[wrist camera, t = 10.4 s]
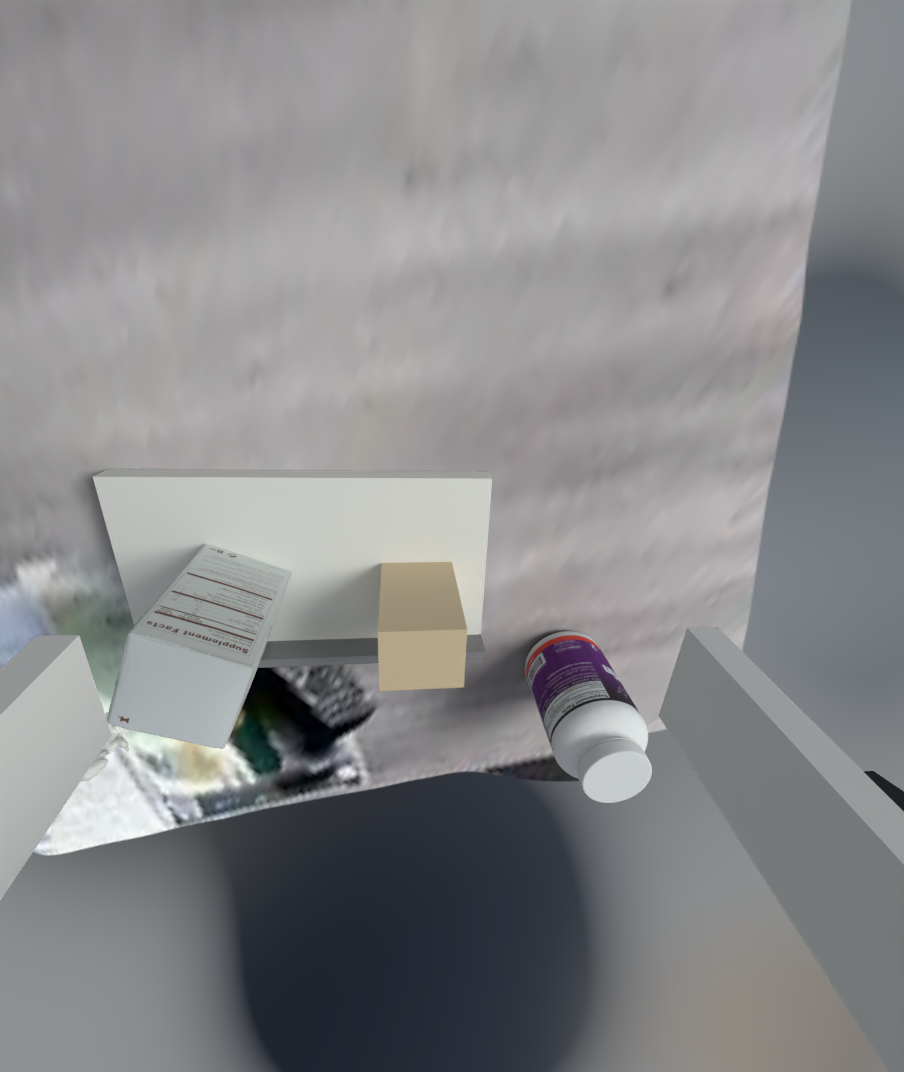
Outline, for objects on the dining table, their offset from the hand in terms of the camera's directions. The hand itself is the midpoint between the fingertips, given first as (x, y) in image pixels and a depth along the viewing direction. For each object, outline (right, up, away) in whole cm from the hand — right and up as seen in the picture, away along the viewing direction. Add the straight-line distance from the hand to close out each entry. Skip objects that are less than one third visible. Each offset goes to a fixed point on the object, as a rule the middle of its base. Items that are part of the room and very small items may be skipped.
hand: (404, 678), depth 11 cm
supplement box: (-17, -1, +30) cm, 34 cm away
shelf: (-11, +1, +31) cm, 33 cm away
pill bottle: (+12, -9, +39) cm, 42 cm away
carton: (-2, -1, +31) cm, 31 cm away
